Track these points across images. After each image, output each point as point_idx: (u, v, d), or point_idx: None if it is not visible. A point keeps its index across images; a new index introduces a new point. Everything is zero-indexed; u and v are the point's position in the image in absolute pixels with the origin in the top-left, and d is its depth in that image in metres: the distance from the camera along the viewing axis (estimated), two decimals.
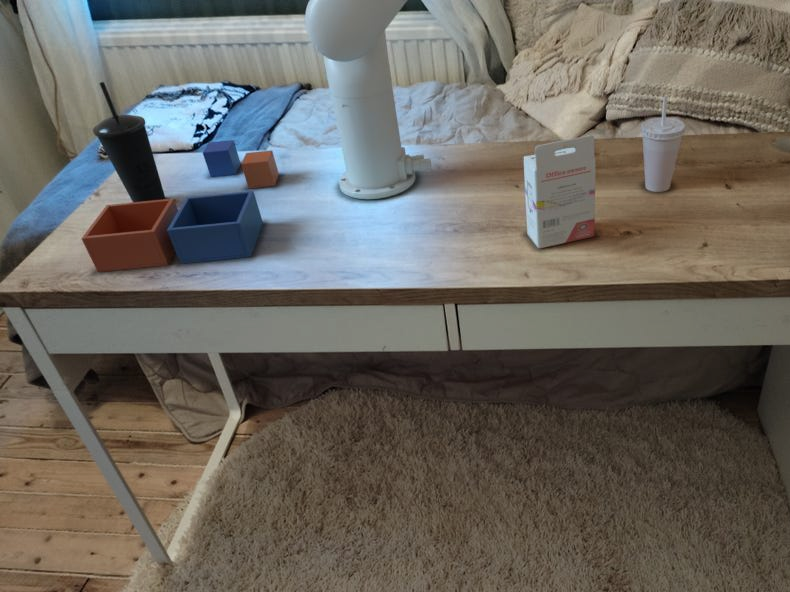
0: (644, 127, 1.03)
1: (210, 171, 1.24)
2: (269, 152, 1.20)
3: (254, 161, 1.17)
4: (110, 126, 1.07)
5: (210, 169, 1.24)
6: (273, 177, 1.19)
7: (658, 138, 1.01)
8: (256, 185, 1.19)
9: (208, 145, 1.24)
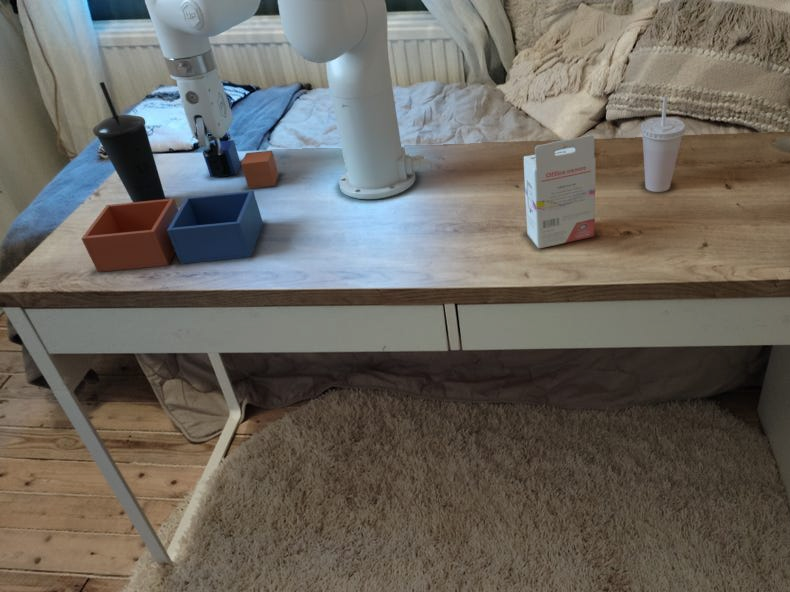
0: (644, 127, 1.03)
1: (210, 171, 1.24)
2: (269, 152, 1.20)
3: (254, 161, 1.17)
4: (110, 126, 1.07)
5: None
6: (273, 177, 1.19)
7: (658, 138, 1.01)
8: (256, 185, 1.19)
9: None
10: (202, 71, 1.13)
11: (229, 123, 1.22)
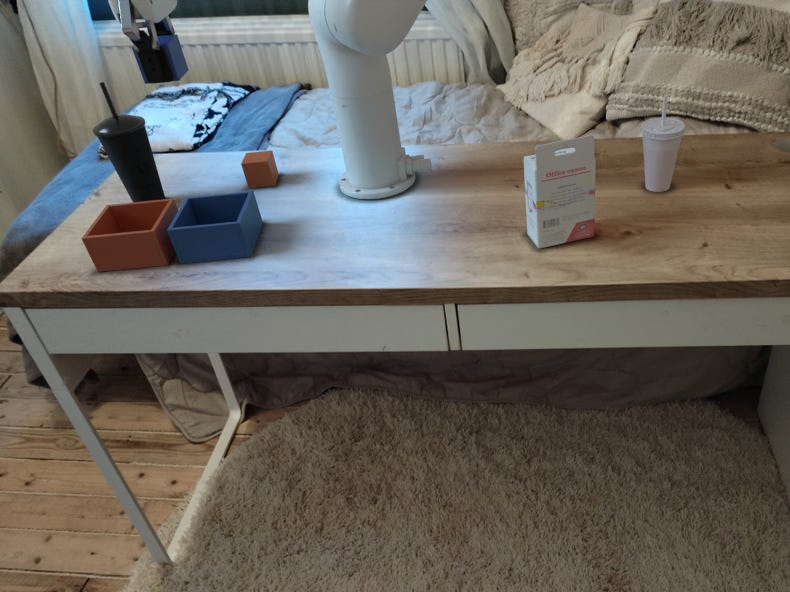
0: (644, 127, 1.03)
1: (144, 76, 0.90)
2: (269, 152, 1.20)
3: (254, 161, 1.17)
4: (110, 126, 1.07)
5: (144, 73, 0.90)
6: (273, 177, 1.19)
7: (658, 138, 1.01)
8: (256, 185, 1.19)
9: None
10: None
11: (170, 7, 0.88)
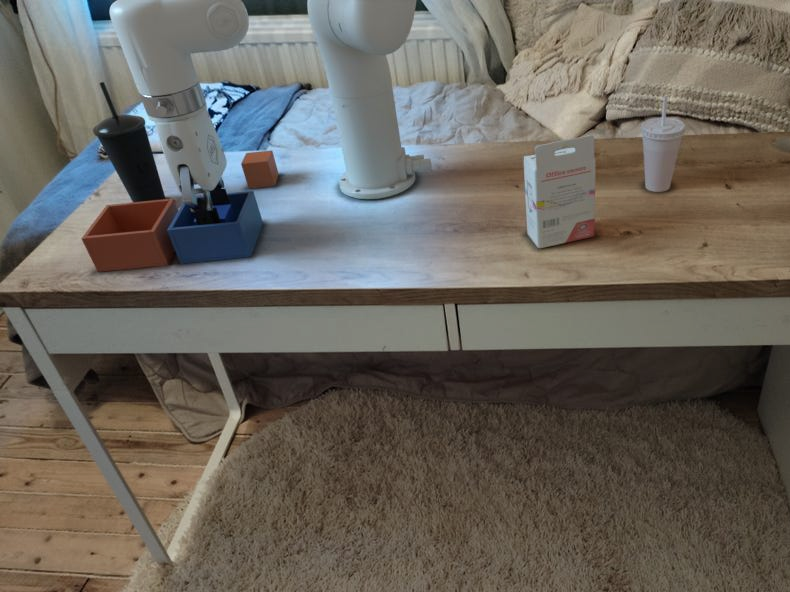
0: (644, 127, 1.03)
1: None
2: (269, 152, 1.20)
3: (254, 161, 1.17)
4: (110, 126, 1.07)
5: None
6: (273, 177, 1.19)
7: (658, 138, 1.01)
8: (256, 185, 1.19)
9: None
10: (187, 110, 0.90)
11: (222, 170, 1.00)
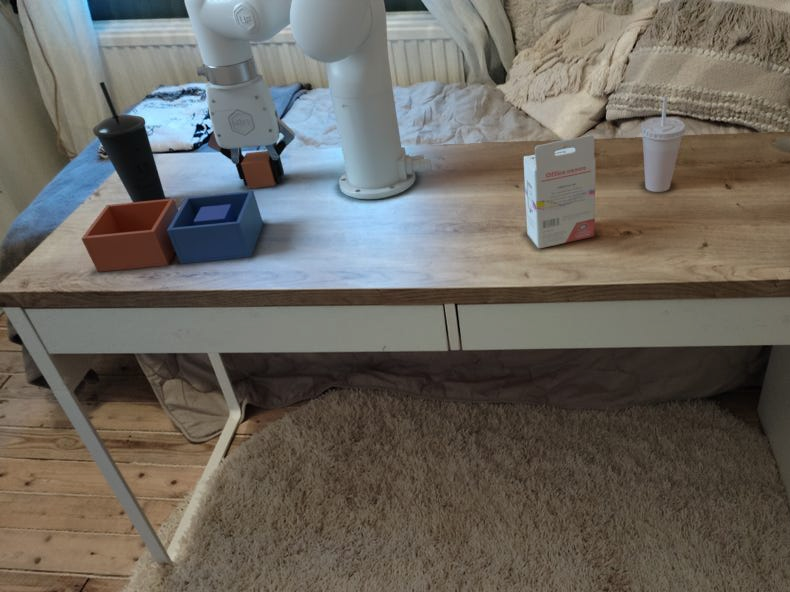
0: (644, 127, 1.03)
1: None
2: None
3: (254, 161, 1.17)
4: (110, 126, 1.07)
5: None
6: (273, 177, 1.19)
7: (658, 138, 1.01)
8: (256, 185, 1.19)
9: (200, 211, 1.03)
10: (211, 81, 1.08)
11: (253, 143, 1.14)
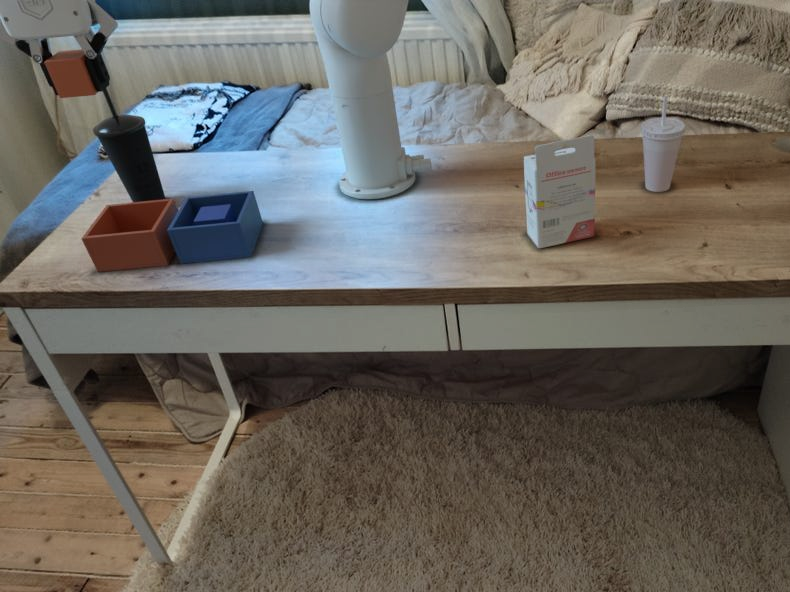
0: (644, 127, 1.03)
1: None
2: None
3: (62, 59, 0.87)
4: (110, 126, 1.07)
5: None
6: (92, 83, 0.90)
7: (658, 138, 1.01)
8: (70, 93, 0.90)
9: (200, 211, 1.03)
10: None
11: (55, 31, 0.85)
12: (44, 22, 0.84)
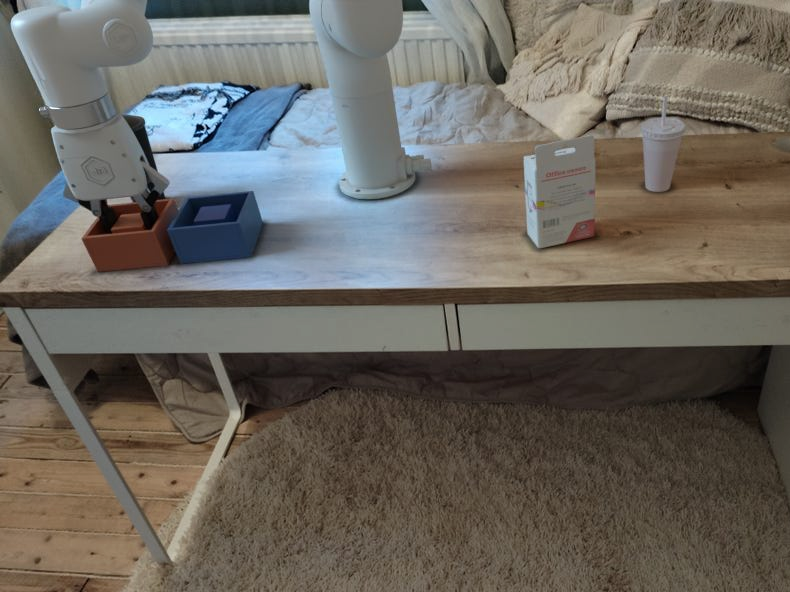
0: (644, 127, 1.03)
1: None
2: None
3: (126, 227, 1.01)
4: None
5: None
6: None
7: (658, 138, 1.01)
8: None
9: (200, 211, 1.03)
10: (55, 124, 0.91)
11: (115, 194, 0.97)
12: (106, 187, 0.96)
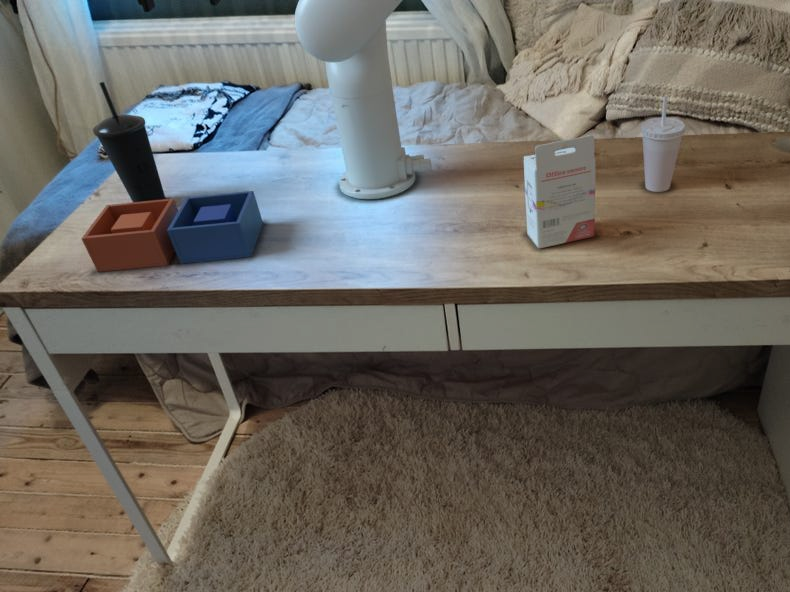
0: (644, 127, 1.03)
1: None
2: (147, 214, 1.04)
3: (126, 227, 1.01)
4: (110, 126, 1.07)
5: None
6: None
7: (658, 138, 1.01)
8: None
9: (200, 211, 1.03)
10: None
11: None
12: None
